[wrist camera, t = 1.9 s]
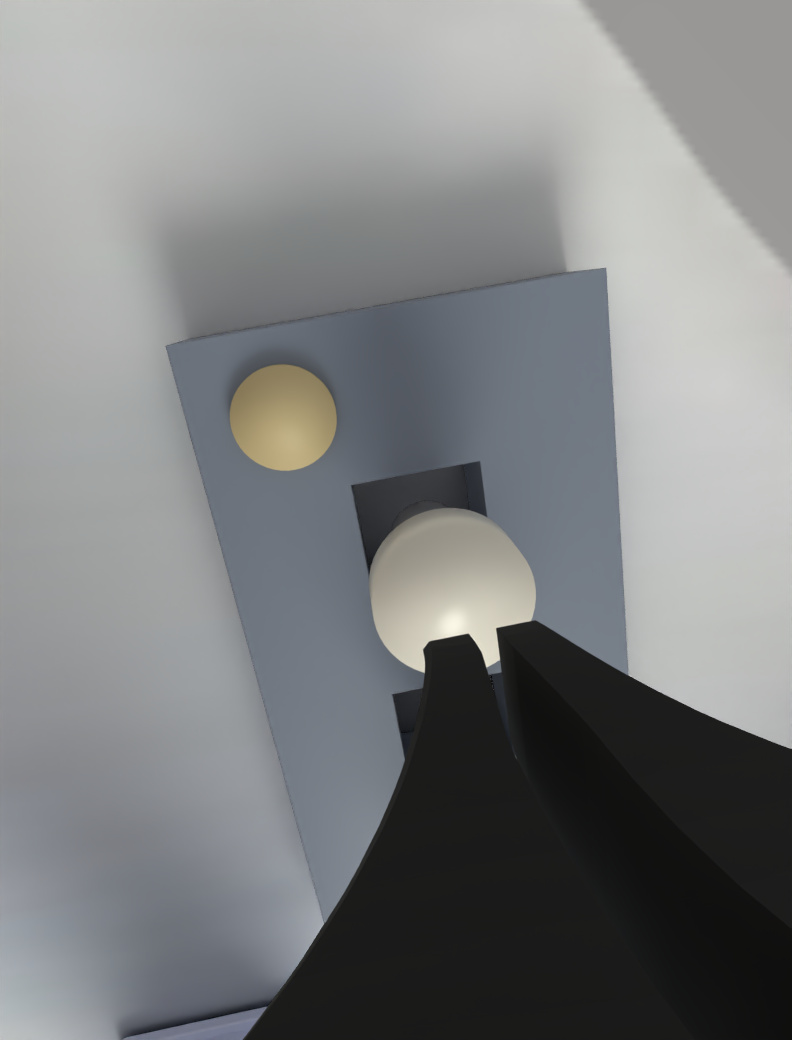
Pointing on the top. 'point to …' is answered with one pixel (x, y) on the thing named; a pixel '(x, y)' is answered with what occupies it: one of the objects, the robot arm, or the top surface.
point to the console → (385, 454)
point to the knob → (447, 582)
